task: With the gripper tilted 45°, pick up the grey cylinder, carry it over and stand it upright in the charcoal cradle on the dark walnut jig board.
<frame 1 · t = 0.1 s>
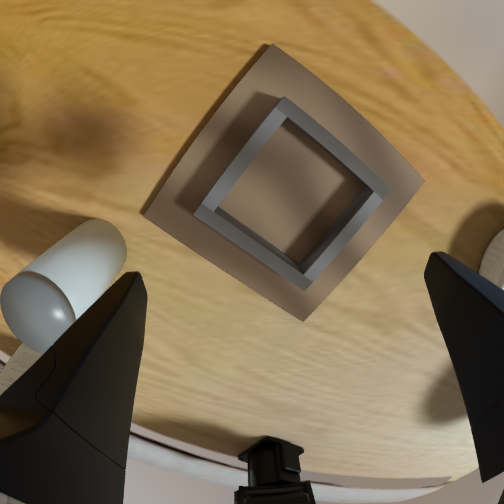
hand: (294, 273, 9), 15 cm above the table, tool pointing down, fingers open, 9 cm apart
grey cylinder: (99, 248, 25), on the table
jig board: (291, 192, 24), on the table
small box: (55, 367, 31), on the table
ramekin: (503, 262, 27), on the table
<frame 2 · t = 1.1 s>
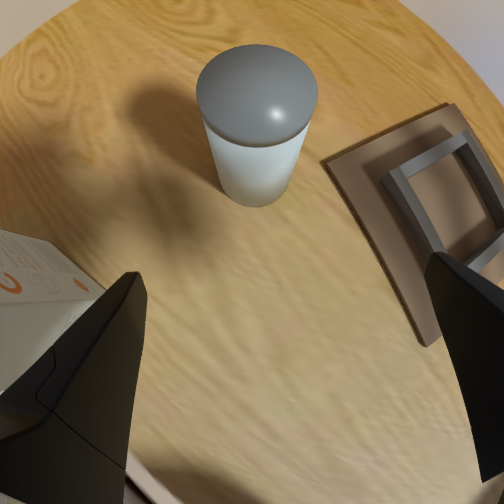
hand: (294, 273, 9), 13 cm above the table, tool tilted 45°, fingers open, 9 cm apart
grey cylinder: (254, 173, 23), on the table
jig board: (448, 210, 23), on the table
small box: (64, 300, 22), on the table
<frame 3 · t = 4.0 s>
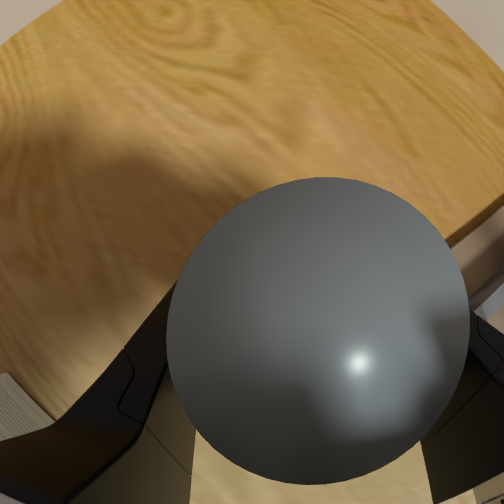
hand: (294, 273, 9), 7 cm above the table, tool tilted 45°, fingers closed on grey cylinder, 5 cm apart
grey cylinder: (278, 312, 16), on the table, touching gripper
small box: (36, 441, 14), on the table
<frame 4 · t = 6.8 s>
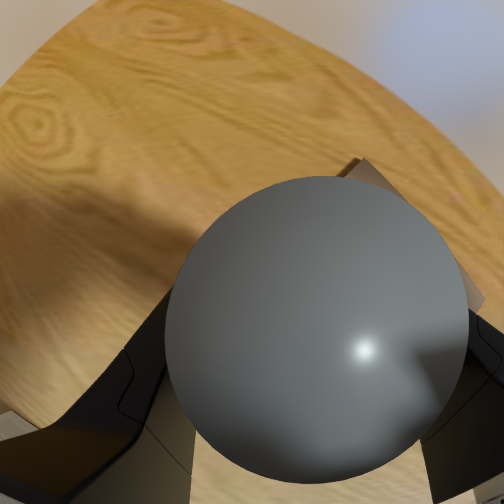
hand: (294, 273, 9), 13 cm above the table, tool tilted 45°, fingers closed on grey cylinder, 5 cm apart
grey cylinder: (278, 311, 16), point 7 cm above the table, touching gripper
jig board: (369, 305, 22), on the table
small box: (41, 453, 20), on the table
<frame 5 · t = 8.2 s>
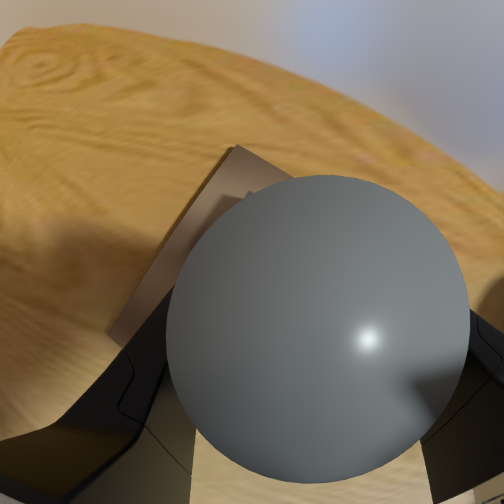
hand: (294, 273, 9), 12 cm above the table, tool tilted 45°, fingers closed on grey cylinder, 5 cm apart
grey cylinder: (278, 311, 16), point 5 cm above the table, touching gripper
jig board: (271, 306, 21), on the table
when the fingers open (8 cm above the table, at t = 9.4 s): grey cylinder stays where it is, resting on jig board.
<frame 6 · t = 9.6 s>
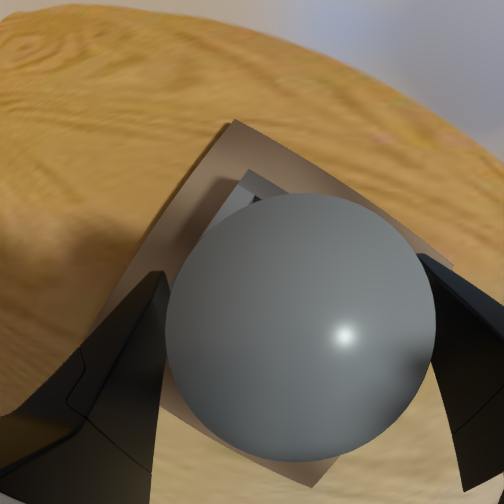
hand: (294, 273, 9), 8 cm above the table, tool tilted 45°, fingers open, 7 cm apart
grey cylinder: (276, 312, 16), point 1 cm above the table, touching jig board
jig board: (275, 310, 17), on the table
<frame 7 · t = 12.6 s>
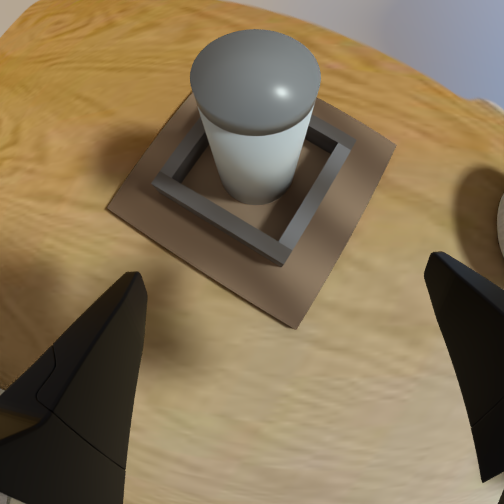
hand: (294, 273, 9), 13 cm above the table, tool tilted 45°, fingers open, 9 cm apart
grey cylinder: (256, 169, 22), point 1 cm above the table, touching jig board
jig board: (256, 172, 23), on the table
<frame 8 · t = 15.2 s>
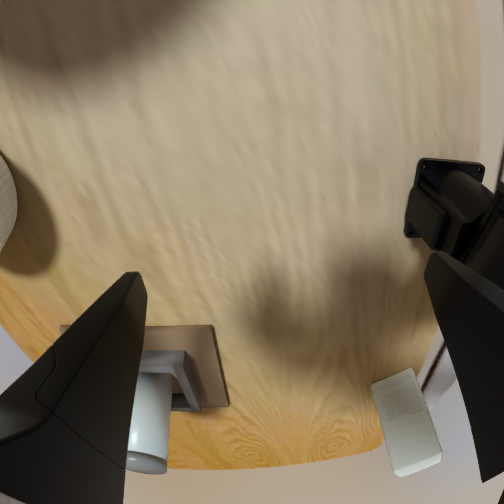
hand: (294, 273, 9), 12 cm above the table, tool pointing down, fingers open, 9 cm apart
grey cylinder: (150, 376, 33), point 1 cm above the table, touching jig board
jig board: (150, 371, 33), on the table
small box: (394, 384, 39), on the table
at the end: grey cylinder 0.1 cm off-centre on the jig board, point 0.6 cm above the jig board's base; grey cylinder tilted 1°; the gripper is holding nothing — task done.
